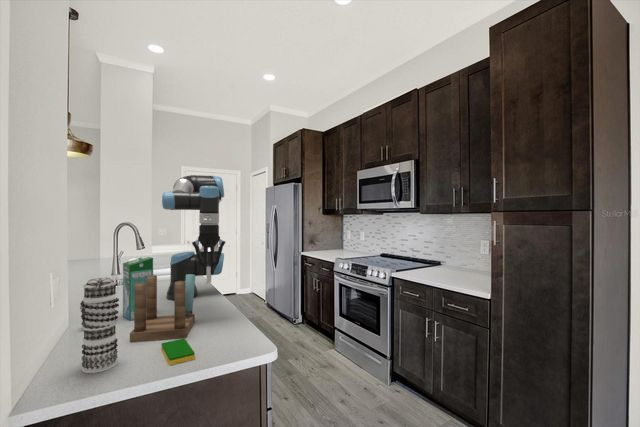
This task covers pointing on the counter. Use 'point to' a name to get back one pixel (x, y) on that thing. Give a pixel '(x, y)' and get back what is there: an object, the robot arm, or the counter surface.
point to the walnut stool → (159, 326)
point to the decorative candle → (99, 325)
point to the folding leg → (189, 291)
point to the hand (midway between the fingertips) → (208, 282)
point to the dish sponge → (177, 351)
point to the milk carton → (134, 281)
